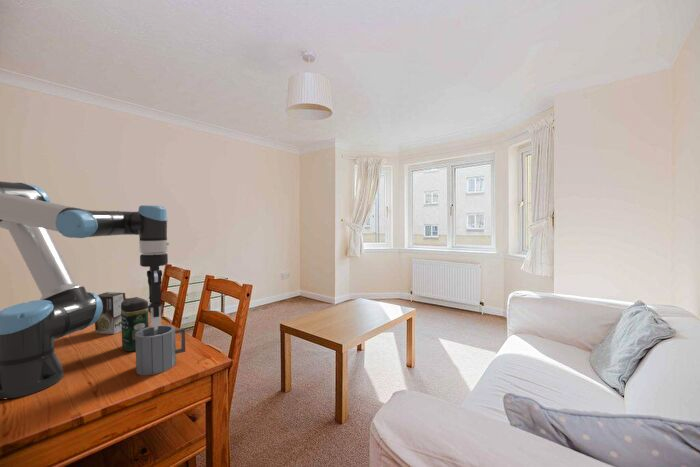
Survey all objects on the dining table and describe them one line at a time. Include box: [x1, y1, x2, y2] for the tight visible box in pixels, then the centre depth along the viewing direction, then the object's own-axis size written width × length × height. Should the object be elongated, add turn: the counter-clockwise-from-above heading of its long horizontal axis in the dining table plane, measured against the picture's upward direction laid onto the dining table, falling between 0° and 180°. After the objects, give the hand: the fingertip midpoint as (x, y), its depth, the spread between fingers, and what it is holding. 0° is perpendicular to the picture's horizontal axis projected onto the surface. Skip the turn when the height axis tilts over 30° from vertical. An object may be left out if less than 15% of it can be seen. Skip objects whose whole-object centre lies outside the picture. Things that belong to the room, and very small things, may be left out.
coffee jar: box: [121, 296, 150, 352], centre depth 112 cm, size 10×8×19 cm
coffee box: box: [94, 291, 126, 335], centre depth 128 cm, size 9×6×16 cm
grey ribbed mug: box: [135, 324, 186, 376], centre depth 99 cm, size 14×11×12 cm
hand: (155, 324), depth 98 cm, fingers closed on plunger, 4 cm apart
